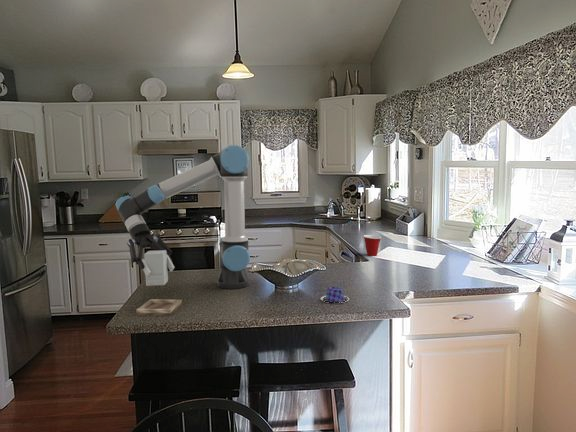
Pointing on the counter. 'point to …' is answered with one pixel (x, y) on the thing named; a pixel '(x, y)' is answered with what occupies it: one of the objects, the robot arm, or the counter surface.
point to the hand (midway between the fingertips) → (160, 272)
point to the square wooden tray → (159, 307)
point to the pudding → (334, 295)
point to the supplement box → (156, 267)
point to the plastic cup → (372, 244)
